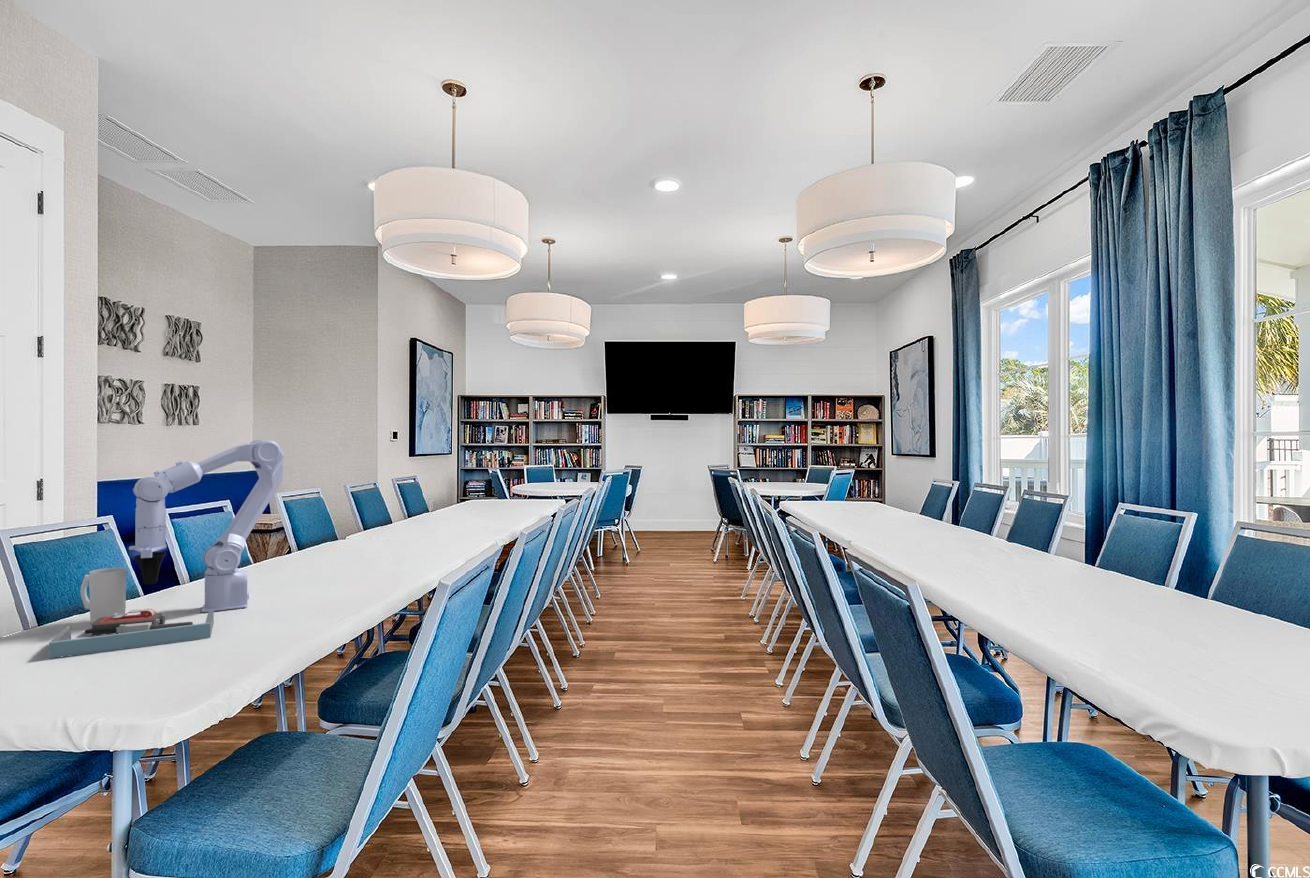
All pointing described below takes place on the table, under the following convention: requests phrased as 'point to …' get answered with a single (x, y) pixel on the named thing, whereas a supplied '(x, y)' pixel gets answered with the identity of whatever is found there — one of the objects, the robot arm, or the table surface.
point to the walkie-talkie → (131, 623)
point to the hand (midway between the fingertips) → (150, 584)
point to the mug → (105, 592)
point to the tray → (128, 639)
